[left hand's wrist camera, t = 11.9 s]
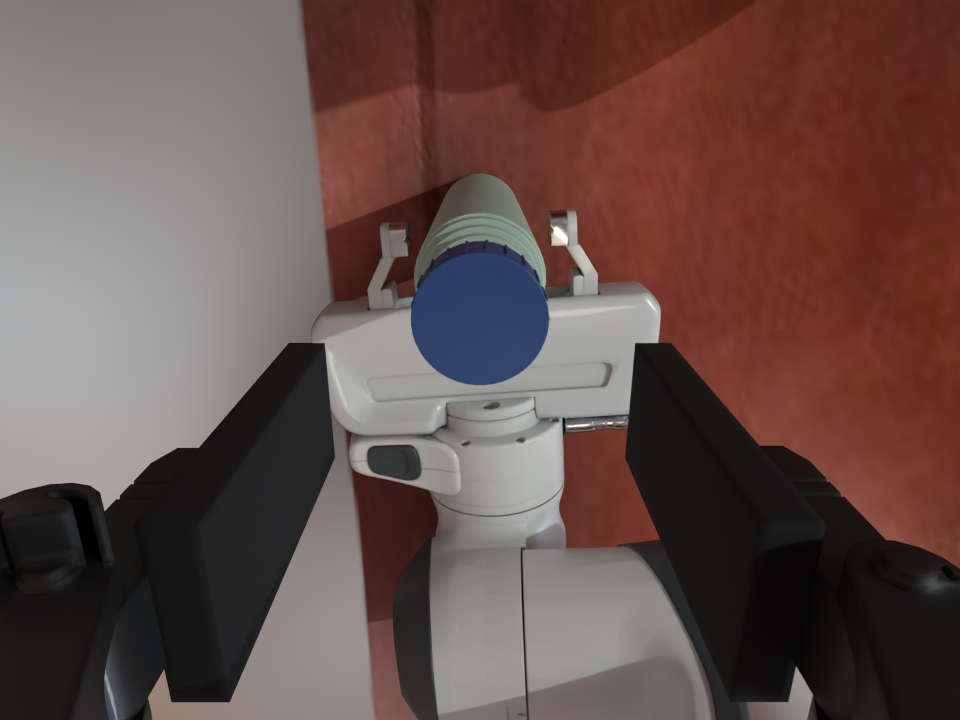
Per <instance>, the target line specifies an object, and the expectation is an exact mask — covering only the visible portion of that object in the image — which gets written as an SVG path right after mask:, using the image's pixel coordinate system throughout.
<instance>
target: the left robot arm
mask: <svg viewBox="0 0 960 720" xmlns="http://www.w3.org/2000/svg"><path fill="white" fill-rule="evenodd" d="M334 458H335V453H334V442H333V431H332V419H331V407H330V396H329V384H328V373H327V361H326V350H325V343H289V344H288V345H287V346H286V347H285V348H284V349H283V351H282V352H281V353H280V354H279V355H278V356H277V358H276V359H275V360H274V361H273V362H272V363H271V365H270V366H269V367H268V368H267V369H266V370H265V372H264V373H263V374H262V375H261V376H260V377H259V379H258V380H257V381H256V382H255V383H254V384H253V386H252V387H251V388H250V389H249V390H248V391H247V393H246V394H245V395H244V396H243V397H242V398H241V400H240V401H239V402H238V403H237V404H236V405H235V407H234V408H233V409H232V410H231V411H230V412H229V413H228V415H227V416H226V417H225V418H224V419H223V420H222V422H221V423H220V424H219V425H218V426H217V427H216V429H215V430H214V431H213V432H212V433H211V434H210V436H209V437H208V438H207V439H206V440H205V441H204V443H203V444H202V445H201V446H200V447H199V448H177V449H175V450H173V451H172V452H170V453H168V454H166V455H165V456H163V457H161V458H159V459H158V460H156V461H154V462H152V463H151V464H150V465H149V466H148V467H147V468H146V469H145V470H144V471H143V472H142V473H141V474H140V475H139V476H138V477H137V478H136V479H135V480H134V484H131V485H130V486H129V487H128V488H127V489H126V490H125V491H124V492H123V493H122V494H121V495H120V499H117V500H115V501H114V502H113V503H112V504H111V505H110V507H109V508H108V509H107V510H106V511H105V512H104V508H103V503H102V499H101V495H100V492H98V491H97V490H95V489H94V488H93V487H91V486H88V485H83V484H76V483H64V484H50V485H45V486H41V487H36V488H32V489H27V490H24V491H21V492H18V493H16V494H13V495H10V496H8V497H5V498H2V499H0V720H152V715H151V709H150V705H149V701H148V696H149V694H150V693H151V691H152V689H153V687H154V686H155V684H156V682H157V681H158V679H159V677H160V675H161V674H162V672H163V670H165V674H166V679H167V683H168V688H169V693H170V697H171V701H172V702H230V700H231V698H232V695H233V693H234V691H235V688H236V686H237V684H238V681H239V679H240V677H241V674H242V672H243V670H244V668H245V665H246V663H247V661H248V658H249V656H250V654H251V651H252V649H253V647H254V644H255V642H256V640H257V637H258V635H259V633H260V630H261V628H262V626H263V623H264V621H265V619H266V616H267V614H268V612H269V609H270V607H271V605H272V602H273V600H274V598H275V595H276V593H277V591H278V588H279V586H280V584H281V582H282V579H283V577H284V575H285V572H286V570H287V568H288V565H289V563H290V561H291V558H292V556H293V554H294V551H295V549H296V547H297V544H298V542H299V540H300V537H301V535H302V533H303V530H304V528H305V526H306V523H307V521H308V519H309V516H310V514H311V512H312V510H313V507H314V505H315V503H316V500H317V498H318V496H319V493H320V491H321V489H322V486H323V484H324V482H325V479H326V477H327V475H328V472H329V470H330V468H331V465H332V463H333V461H334ZM625 458H626V461H627V463H628V465H629V468H630V470H631V472H632V475H633V477H634V479H635V482H636V484H637V486H638V489H639V491H640V493H641V496H642V498H643V500H644V503H645V505H646V507H647V510H648V512H649V514H650V517H651V519H652V521H653V524H654V526H655V528H656V530H657V533H658V535H659V537H660V540H661V542H662V544H663V547H664V549H665V551H666V554H667V556H668V558H669V561H670V563H671V565H672V568H673V570H674V572H675V575H676V577H677V579H678V582H679V584H680V586H681V589H682V591H683V593H684V596H685V598H686V600H687V602H688V605H689V607H690V609H691V612H692V614H693V616H694V619H695V621H696V623H697V626H698V628H699V630H700V633H701V635H702V637H703V640H704V642H705V644H706V647H707V649H708V651H709V654H710V656H711V658H712V661H713V663H714V665H715V668H716V670H717V672H718V674H719V677H720V679H721V681H722V684H723V686H724V688H725V691H726V693H727V695H728V698H729V700H730V702H789V697H790V693H791V688H792V683H793V679H794V674H795V669H796V667H797V668H798V670H799V672H800V674H801V675H802V677H803V679H804V681H805V682H806V684H807V686H808V687H809V689H810V691H811V693H812V694H813V696H812V701H811V705H810V709H809V714H808V718H807V720H960V569H959V568H958V567H956V566H955V565H953V564H952V563H950V562H949V561H947V560H946V559H944V558H943V557H940V556H938V555H936V554H934V553H931V552H929V551H927V550H924V549H922V548H920V547H916V546H913V545H909V544H905V543H901V542H897V541H890V540H885V539H884V537H883V536H882V535H881V534H880V533H879V532H878V531H877V530H876V529H875V528H874V527H873V526H872V525H871V524H870V523H869V522H868V521H867V520H866V519H865V518H864V517H863V516H862V515H861V514H860V513H859V512H858V511H857V510H856V509H855V508H854V506H853V505H852V504H851V503H850V502H849V501H848V500H847V499H846V498H845V497H841V493H840V492H839V491H838V490H837V489H836V488H835V487H834V486H833V485H832V484H831V483H830V482H827V481H826V478H825V477H824V475H823V474H822V473H821V472H820V471H819V470H818V469H817V468H816V467H815V466H814V465H813V464H812V463H811V462H810V461H809V460H807V459H805V458H803V457H802V456H800V455H798V454H796V453H794V452H793V451H791V450H789V449H787V448H786V447H784V446H759V445H758V444H757V443H756V441H755V440H754V439H753V438H752V437H751V436H750V434H749V433H748V432H747V431H746V430H745V429H744V427H743V426H742V425H741V424H740V423H739V422H738V420H737V419H736V418H735V417H734V416H733V415H732V413H731V412H730V411H729V410H728V409H727V408H726V406H725V405H724V404H723V403H722V402H721V401H720V399H719V398H718V397H717V396H716V395H715V394H714V392H713V391H712V390H711V389H710V388H709V387H708V386H707V384H706V383H705V382H704V381H703V380H702V379H701V377H700V376H699V375H698V374H697V373H696V372H695V370H694V369H693V368H692V367H691V366H690V365H689V363H688V362H687V361H686V360H685V359H684V358H683V356H682V355H681V354H680V353H679V352H678V351H677V349H676V348H675V347H674V346H673V345H672V344H671V343H635V350H634V361H633V373H632V384H631V396H630V407H629V419H628V430H627V442H626V453H625Z"/></svg>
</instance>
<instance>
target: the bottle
mask: <svg viewBox="0 0 960 720" xmlns="http://www.w3.org/2000/svg"><path fill="white" fill-rule="evenodd" d="M467 240H468V242H472V241H485V240H488V242H494V243H498V244H501V245H505V244H506V245H507V246H508V247H509V248H510V249H512V250H514V251H516V252H517V253H518V254H520V255H522V254H523V255H524V257H525V260H526V261H527V262H528V263H529V264H530V265H531V267H532V268H533V269H536V271H537V273H538V276H539V279H540V281H541V282H540V284H541V287H544V290H545V285H546V271H545V264H544V260H543V257H542V254H541V252H540V250H539V247H538V245H537V243H536V241H535V239H534V236H533V234H532V232H531V230H530V228H529V226H528V223H527V221H526V219H525V217H524V215H523V213H522V210H521V208H520V206H519V204H518V202H517V200H516V197H515V195H514V194H513V192H512V190H511V189H510V188H509V186H508V185H507V184H506V183H504V182H503V181H502V180H500V179H499V178H497V177H494V176H492V175H488V174H472V175H468V176H466V177H463V178H461V179H460V180H458V181H457V182H456V183H454V184H453V185H452V186H451V188H450V189H449V190H448V192H447V194H446V195H445V197H444V200H443V202H442V204H441V206H440V208H439V210H438V213H437V215H436V217H435V219H434V221H433V223H432V226H431V228H430V230H429V232H428V234H427V236H426V239H425V241H424V243H423V245H422V247H421V249H420V252H419V254H418V257H417V260H416V264H415V271H414V285H415V291H416V292H417V289H418V288H416V287H417V284H418V281H419V279H420V276H421V274H422V275H424V273H425V271H426V269H427V268H428V267H429V265H430V263H431V260H432V259H434V260H435V259H436V258H437V257H438V256H439V255H440V254H442V253H443V252H444V251H446V249H447V248H448V247H449V248H451V247H454V246H456V245H459V244H462V243H465V241H467Z"/></svg>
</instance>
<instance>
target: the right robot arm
mask: <svg viewBox="0 0 960 720" xmlns="http://www.w3.org/2000/svg"><path fill="white" fill-rule="evenodd" d="M547 218H548V223H549V225H550V227H549V228H548V241H549V243H550V245H551V246H564V245H565V246H566V248H567V249H568V251H569V252H570V254H571V256H572V257H573V259H574V261H575V262H576V264H577V265H578V269H577V268H570V269H569V285H568V286H553V287H545V292H546V295H547V298H548V301H547V305H548V310H549V317H550V321H549V328H548V334H547V337H546V340H545V343H544V345H543V347H542V349H541V351H540V353H539V354H538V356H537V357H536V359H535V360H534V361H533V362H532V363H531V364H530V365H529V366H528V367H527V368H526V369H525V370H524V371H522V372H521V373H519V374H518V375H516V376H514V377H512V378H511V379H508V380H506V381H503V382H500V383H496V384H491V385H469V384H464V383H460V382H457V381H454V380H452V379H449V378H448V377H446V376H444V375H442V374H441V373H439V372H438V371H436V370H435V369H434V368H433V367H432V366H431V365H430V364H429V363H428V362H427V361H426V360H425V359H424V357H423V356H422V354H421V353H420V351H419V349H418V347H417V345H416V343H415V340H414V337H413V334H412V328H411V309H412V307H411V303H412V300H413V298H414V296H409V297H398V294H397V287H396V282H395V281H394V280H392V281H387V282H386V279H387V277H388V274H389V272H390V270H391V268H392V265H393V263H394V261H395V258H396V257H406V256H409V255H410V253H411V251H412V250H411V240H410V238H409V237H408V236H407V235H408V233H409V232H410V230H409V224H408V221H402V222H386V223H382V224H381V225H380V238H381V246H382V254H383V256H382V258H381V260H380V262H379V264H378V267H377V269H376V271H375V273H374V276H373V278H372V280H371V283H370V285H369V287H368V289H367V291H368V299H366V300H352V301H337V302H332V303H330V304H329V305H328V306H327V307H326V308H325V309H324V310H323V311H322V312H321V313H320V315H319V316H318V317H317V319H316V321H315V322H314V324H313V326H312V330H311V340H312V343H325V350H326V361H327V373H328V384H329V396H330V407H331V412H332V414H333V416H334V417H335V419H336V420H337V422H338V423H339V424H340V425H341V426H342V427H343V428H345V429H346V430H348V431H350V432H352V436H351V440H350V448H349V458H350V463H351V466H352V468H353V469H354V470H355V471H356V472H358V473H361V474H363V475H368V476H372V477H377V478H382V479H387V480H391V481H396V482H400V483H404V484H408V485H412V486H416V487H419V488H423V489H426V490H429V491H430V494H431V496H432V499H433V501H434V504H435V506H436V509H437V512H438V525H437V529H436V536H435V537H430V538H429V539H428V540H427V541H426V542H425V543H424V544H423V545H422V546H421V548H420V549H419V550H418V551H417V553H416V554H415V556H414V557H413V558H412V560H411V561H410V562H409V564H408V565H407V567H406V568H405V569H404V571H403V573H402V574H401V576H400V578H399V581H398V584H397V587H396V591H395V597H394V604H393V632H394V643H395V652H396V660H397V667H398V674H399V681H400V688H401V693H402V696H403V698H404V699H405V701H406V702H407V704H408V706H409V707H410V709H411V710H412V712H413V713H414V714H415V716H416V717H417V719H418V720H807V718H808V714H809V709H810V705H811V701H812V696H813V694H812V693H811V691H810V689H809V687H808V686H807V684H806V682H805V681H804V679H803V677H802V675H801V674H800V672H799V670H798V668H797V667H796V669H795V674H794V679H793V683H792V688H791V693H790V697H789V702H730V700H729V698H728V695H727V693H726V691H725V688H724V686H723V684H722V681H721V679H720V677H719V674H718V672H717V670H716V668H715V665H714V663H713V661H712V658H711V656H710V654H709V651H708V649H707V647H706V644H705V642H704V640H703V637H702V635H701V633H700V630H699V628H698V626H697V623H696V621H695V619H694V616H693V614H692V612H691V609H690V607H689V605H688V602H687V600H686V598H685V596H684V593H683V591H682V589H681V586H680V584H679V582H678V579H677V577H676V575H675V572H674V570H673V568H672V565H671V563H670V561H669V558H668V556H667V554H666V551H665V549H664V547H663V544H662V542H661V540H654V541H645V542H636V543H627V544H620V545H617V546H616V547H595V548H566V532H565V527H564V523H563V521H562V518H561V516H560V512H559V502H560V499H561V496H562V492H563V488H564V455H563V435H564V434H566V433H580V432H591V431H597V430H601V429H602V430H603V429H613V430H624V429H628V419H629V407H630V396H631V384H632V373H633V361H634V350H635V343H658V338H659V330H660V317H661V310H660V306H659V303H658V301H657V300H656V298H655V297H654V296H653V295H652V293H651V292H650V291H649V290H647V289H646V288H645V287H644V286H643V285H641V284H640V283H638V282H636V281H625V282H611V283H598V274H597V272H596V271H595V269H594V267H593V266H592V264H591V262H590V261H589V259H588V258H587V256H586V254H585V253H584V251H583V249H582V248H581V246H580V245H579V243H578V242H577V216H576V211H575V210H574V209H567V210H555V211H548V213H547ZM563 417H564V418H563Z"/></svg>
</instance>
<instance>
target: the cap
mask: <svg viewBox="0 0 960 720" xmlns="http://www.w3.org/2000/svg"><path fill="white" fill-rule="evenodd" d="M540 282H541V281H540V279H539V276H538V273H537V271H536V269H533V268H532V267H531V265H530V264H529V263H528V262H527V261H526V260H525V257H524V255H523V254H522V255H520V254H518V253H517V252H516V251H514V250H512V249H510V248H509V247H508V246H507V245H506V244H505V245H501V244H498V243H494V242H488V240H485V241H472V242H468V240H467V241H465V243H462V244H459V245H456V246H454V247H451V248H449V247H448V248H447V249H446V251H444V252H443V253H442V254H440V255H439V256H438V257H437V258H436V259H435V260H434V259H432V260H431V263H430V265H429V267H428V268H427V269H426V271H425V273H424V275H422V274H421V276H420V279H419V281H418V284H417V287H416V288H418V289H417V292H416V293H415V295H414V298H413V300H412V303H411V307H412V309H411V328H412V334H413V337H414V340H415V343H416V345H417V347H418V349H419V351H420V353H421V354H422V356H423V357H424V359H425V360H426V361H427V362H428V363H429V364H430V365H431V366H432V367H433V368H434V369H435V370H436V371H438V372H439V373H441V374H442V375H444V376H446V377H448V378H449V379H452V380H454V381H457V382H460V383H464V384H469V385H491V384H496V383H500V382H503V381H506V380H508V379H511V378H512V377H514V376H516V375H518V374H519V373H521V372H522V371H524V370H525V369H526V368H527V367H528V366H529V365H530V364H531V363H532V362H533V361H534V360H535V359H536V357H537V356H538V354H539V353H540V351H541V349H542V347H543V345H544V343H545V340H546V337H547V334H548V328H549V321H550V317H549V310H548V305H547V301H548V298H547V295H546V292H545V290H544V287H541V284H540Z"/></svg>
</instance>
